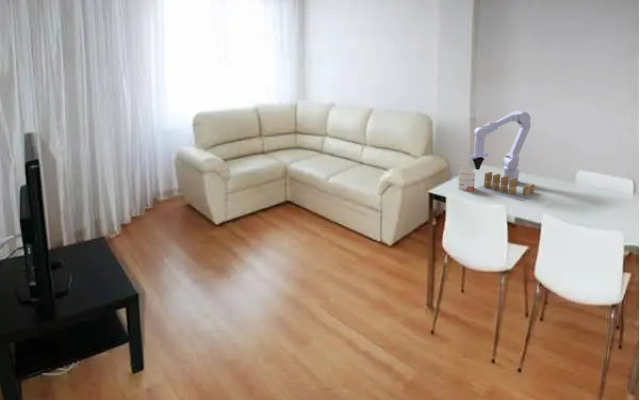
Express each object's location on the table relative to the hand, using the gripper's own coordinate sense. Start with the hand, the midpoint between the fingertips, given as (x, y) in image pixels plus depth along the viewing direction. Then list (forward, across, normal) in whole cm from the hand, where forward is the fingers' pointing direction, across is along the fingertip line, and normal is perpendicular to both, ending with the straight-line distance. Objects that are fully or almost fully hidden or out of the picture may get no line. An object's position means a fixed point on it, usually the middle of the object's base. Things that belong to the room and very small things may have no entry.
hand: (477, 169), depth 292 cm
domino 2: (+9, 0, -15) cm, 17 cm away
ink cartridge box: (+10, -12, -3) cm, 16 cm away
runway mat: (+10, 0, -21) cm, 23 cm away
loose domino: (+6, +3, -31) cm, 32 cm away
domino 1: (+9, -1, -9) cm, 13 cm away
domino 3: (+9, 0, -20) cm, 22 cm away
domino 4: (+9, 0, -26) cm, 27 cm away
